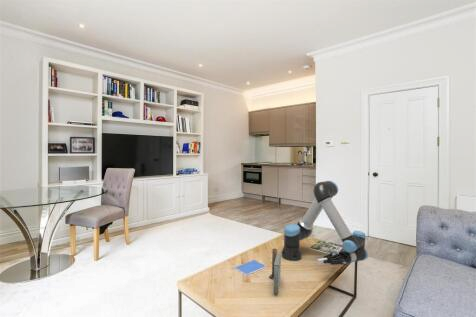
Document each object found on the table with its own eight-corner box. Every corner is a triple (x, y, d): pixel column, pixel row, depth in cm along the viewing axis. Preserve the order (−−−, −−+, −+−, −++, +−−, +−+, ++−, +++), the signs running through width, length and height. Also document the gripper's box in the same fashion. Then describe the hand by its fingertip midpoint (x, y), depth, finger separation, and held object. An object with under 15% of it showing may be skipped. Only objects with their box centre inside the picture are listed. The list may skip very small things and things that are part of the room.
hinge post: (269, 277, 151) (269, 249, 151) (272, 274, 156) (273, 247, 155) (276, 280, 149) (276, 251, 148) (279, 276, 153) (280, 249, 152)
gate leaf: (276, 275, 152) (277, 251, 151) (280, 276, 151) (281, 251, 151) (273, 292, 133) (273, 265, 132) (277, 293, 132) (278, 265, 132)
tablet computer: (254, 261, 176) (254, 259, 176) (266, 267, 166) (266, 265, 166) (234, 269, 163) (234, 267, 163) (246, 276, 154) (246, 274, 154)
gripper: (354, 266, 151) (325, 273, 143) (339, 257, 164) (311, 262, 155) (355, 255, 151) (326, 260, 142) (339, 247, 163) (311, 251, 155)
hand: (318, 261), depth 149 cm, fingers closed
